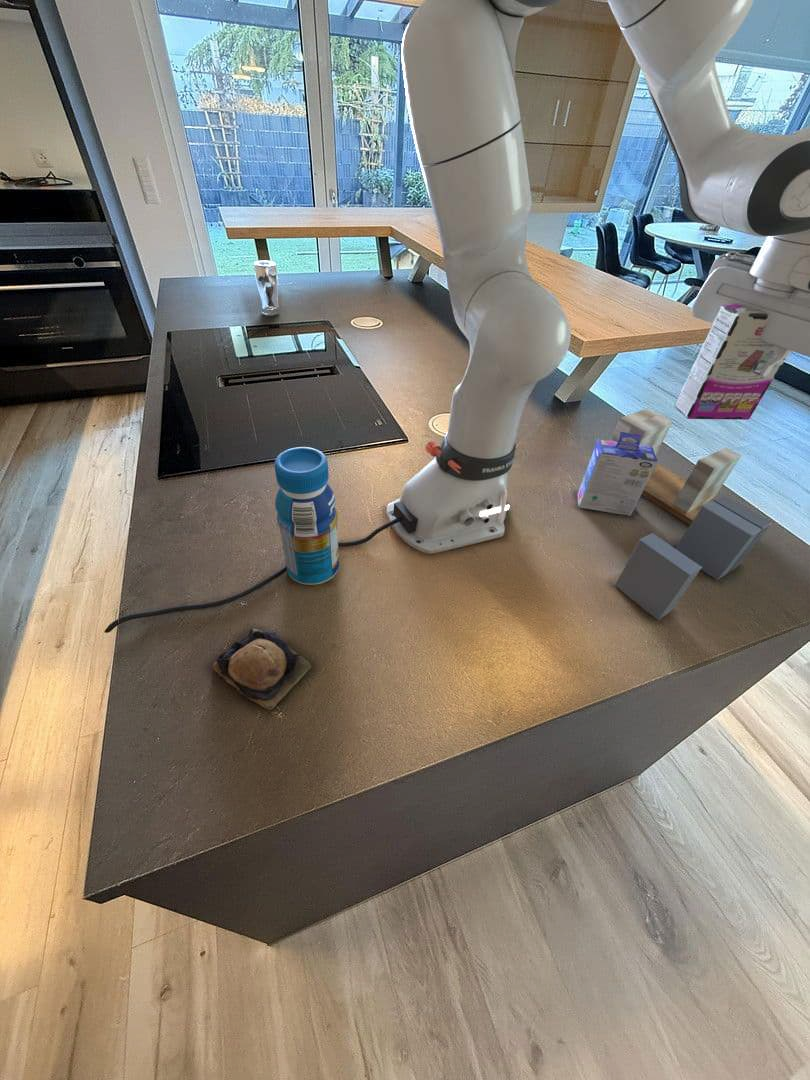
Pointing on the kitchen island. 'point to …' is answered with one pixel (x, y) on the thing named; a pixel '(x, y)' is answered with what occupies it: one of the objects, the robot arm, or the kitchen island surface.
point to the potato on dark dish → (261, 667)
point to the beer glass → (267, 284)
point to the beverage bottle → (307, 515)
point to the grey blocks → (690, 555)
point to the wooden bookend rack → (668, 486)
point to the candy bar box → (729, 367)
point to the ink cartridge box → (616, 475)
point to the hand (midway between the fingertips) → (736, 365)
